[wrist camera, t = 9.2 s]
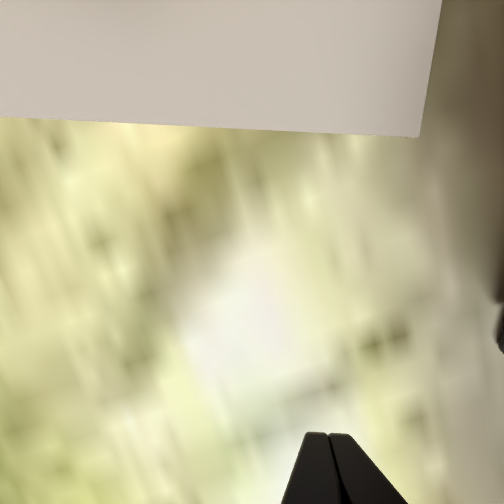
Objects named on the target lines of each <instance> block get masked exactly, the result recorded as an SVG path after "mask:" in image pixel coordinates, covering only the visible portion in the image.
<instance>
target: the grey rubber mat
mask: <svg viewBox="0 0 504 504" xmlns="http://www.w3.org/2000/svg"><path fill="white" fill-rule="evenodd" d="M441 4H442V0H0V117H18V118H38V119H58V120H78V121H98V122H118V123H138V124H158V125H178V126H198V127H218V128H238V129H258V130H277V131H297V132H317V133H337V134H357V135H377V136H397V137H417V138H419V134H420V128H421V123H422V117H423V111H424V105H425V99H426V93H427V87H428V81H429V75H430V69H431V63H432V57H433V52H434V46H435V40H436V34H437V28H438V22H439V16H440V10H441Z"/></svg>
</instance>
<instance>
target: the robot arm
mask: <svg viewBox="0 0 504 504" xmlns="http://www.w3.org/2000/svg"><path fill="white" fill-rule="evenodd" d="M503 322H504V318H503ZM499 349H500V351H501V352H502V353H503V354H504V326H503V329H502V333H501V337H500V340H499ZM281 504H408V503H407V502H406V501H405V499H404V498H403V497H402V496H401V495H400V494H399V492H398V491H397V490H396V489H395V488H394V486H393V485H392V484H391V483H390V482H389V480H388V479H387V478H386V477H385V476H384V474H383V473H382V472H381V471H380V470H379V469H378V467H377V466H376V465H375V464H374V463H373V461H372V460H371V459H370V458H369V457H368V455H367V454H366V453H365V452H364V451H363V450H362V448H361V447H360V446H359V445H358V444H357V442H356V441H355V440H354V439H353V438H352V437H351V436H350V435H349V434H341V433H330V434H329V435H327V434H326V433H323V432H307V433H306V434H305V436H304V439H303V442H302V445H301V448H300V450H299V453H298V456H297V459H296V462H295V465H294V468H293V470H292V473H291V476H290V479H289V482H288V485H287V488H286V491H285V493H284V496H283V499H282V502H281Z"/></svg>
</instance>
